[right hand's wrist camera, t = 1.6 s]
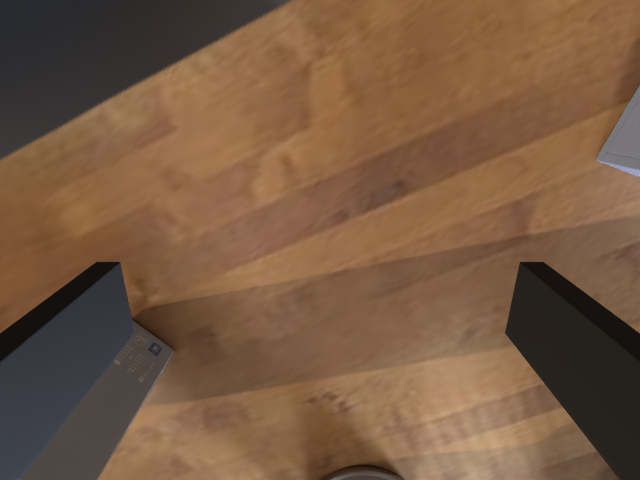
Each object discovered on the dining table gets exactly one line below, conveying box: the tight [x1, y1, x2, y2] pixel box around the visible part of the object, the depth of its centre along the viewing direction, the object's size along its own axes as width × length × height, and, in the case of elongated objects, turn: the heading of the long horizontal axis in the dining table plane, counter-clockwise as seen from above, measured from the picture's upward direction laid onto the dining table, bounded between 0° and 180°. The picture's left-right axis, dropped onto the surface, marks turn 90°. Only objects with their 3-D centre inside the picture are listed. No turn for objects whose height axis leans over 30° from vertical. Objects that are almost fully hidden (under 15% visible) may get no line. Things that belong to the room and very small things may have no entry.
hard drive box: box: [20, 320, 174, 480], centre depth 37 cm, size 16×8×20 cm, turn 135°
